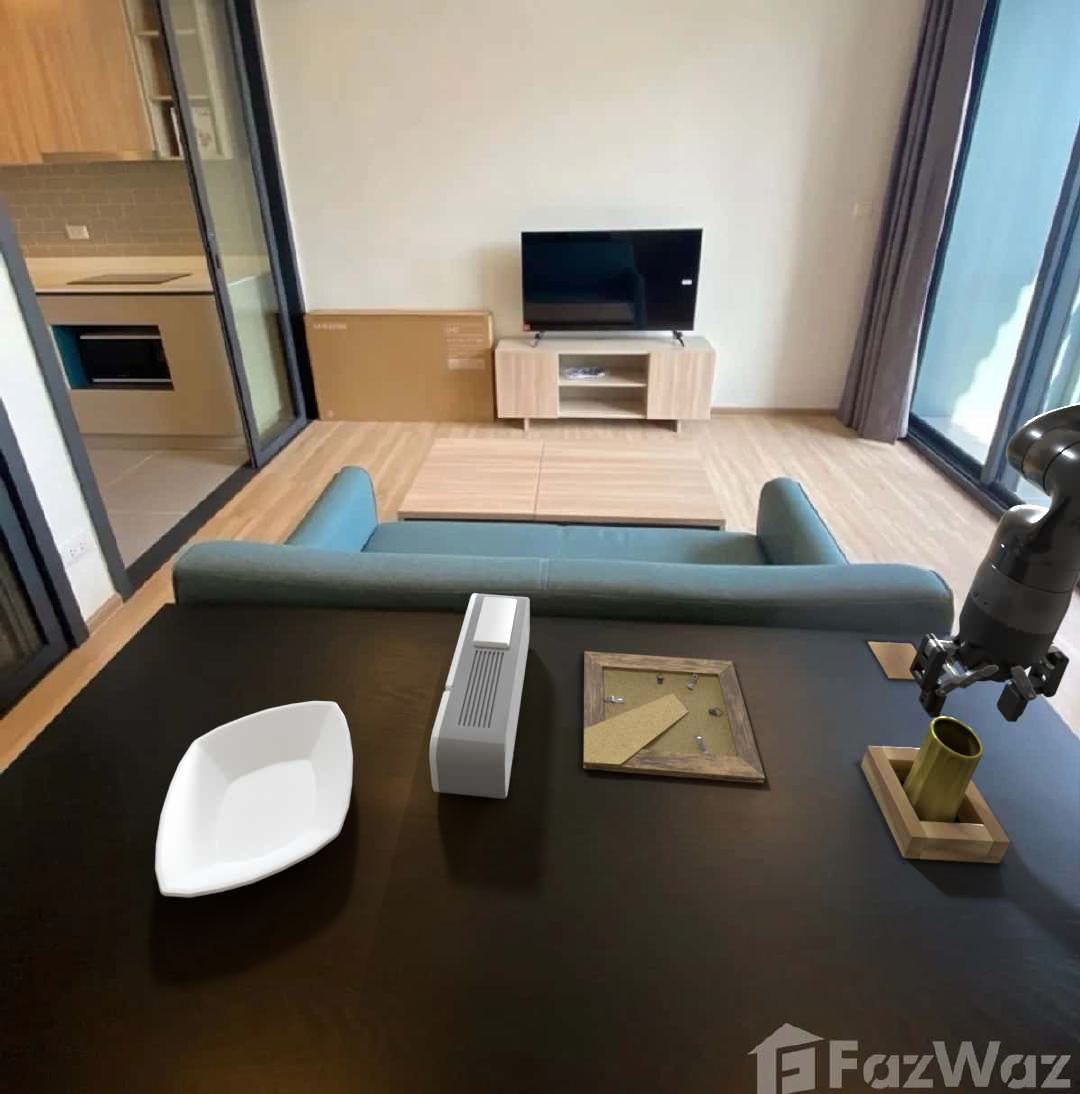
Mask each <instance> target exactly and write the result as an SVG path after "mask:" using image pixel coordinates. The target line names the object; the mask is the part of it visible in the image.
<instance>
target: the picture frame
mask: <svg viewBox="0 0 1080 1094" xmlns="http://www.w3.org/2000/svg"><path fill="white" fill-rule="evenodd" d="M583 653H584V654H583V659H584V662H583V757H582V758H583V763H582V764H583V766H582V767H583V770H589V771H590V770H591V771H604V772H616V773H628V774H639V775H640V774H641V775H653V776H665V777H666V776H667V777H679V778H691V779H702V780H703V779H704V780H717V781H727V782H728V781H729V782H741V783H752V784H764V780H765V778H766V777H765V773H764V769H763V766H762V762H761V759H760V755H759V751H758V749H757V745H756V740H755V738H754V737H755V736H754V733H753V730H752V727H751V722H750V720H749V716H748V712H747V709H746V704H745V702H744V701H745V700H744V698H743V695H742V690H741V687H740V683H739V680H738V676H737V673H736V669H735V666H734V662H733V661H732V660H721V659H720V660H719V659H707V658H705V659H704V658H689V657H676V656H675V657H674V656H662V655H661V656H659V655H645V654H630V653H616V652H601V651H599V652H598V651H587V650H584V652H583Z"/></svg>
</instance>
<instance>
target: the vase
mask: <svg viewBox="0 0 1080 1094" xmlns="http://www.w3.org/2000/svg"><path fill="white" fill-rule="evenodd" d="M919 748H920V750H919V752H918V754H917V756H916V758H915V761H914V763H913V766H912V768H911V771H910V773H909V775H908V776H907V778H906V780H905V781H903V784H902V785H901V786H902V788H903V790H904V792H905V794H906V796H907V798H908V800H909V802H910V804H911V806H912V807H913V809H914V811H915V813H916V815H917V817H918V819H919V821H926V822H944V823H955V821H956V818H957V812H958V809H959V807H960V804H961V802H962V799H963V797H964V794H965V792H966V789H967V787H968V785H969V782H970V780H972V778H973V776H974V774H975V771H976V769H977V767H978V765H979V763H980V761H981V760H982V759H981V758H982V757H983V754H984V745H983V743H982V740H981V738H980V737H979V736H978V734H977V733H976V732H975V730H973V729H972V728H971V727H969V726H968V725H967V724H965V723H964V722H963V721H960V720H959V719H956V718H954V717H950V716H939V717H938V718H934V719H932V720H931V721H930V723H929V724H928V727H927V731H926V733H925V735H924V738H923V740H922V743H921V746H920V747H919Z"/></svg>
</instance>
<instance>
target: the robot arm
mask: <svg viewBox="0 0 1080 1094" xmlns="http://www.w3.org/2000/svg"><path fill="white" fill-rule="evenodd" d="M1005 458H1006V460H1007V463H1008V466H1010V468H1011V469H1012V470H1013V471H1014V472H1015V473H1016V474H1017V475H1018V476H1019V477H1020V478H1022V479H1024V480H1025V481H1026V482H1028V483H1029V484H1031V486H1033V487H1035V488H1036V489H1038V490H1039V491H1040V492H1042V493H1043V494H1045V496H1047V497H1049V498H1050V499H1051V503H1050V506H1049V508H1047V507H1043V506H1038V505H1034V504H1033V505H1032V504H1020V505H1014V506H1012V507H1011V508H1009V509H1007V510H1006V511H1005V512H1004V514H1002V516H1001V518H1000V519H999V522H998V524H997V526H996V529H995V531H994V534H993V537H992V539H991V542H990V544H989V547H988V550H987V551H986V554H985V556H984V557H983V559H982V561H981V562H980V564H979V565H978V567H977V568H976V569H977V570H976V571H975V574H974V577H973V580H972V582H971V584H970V587H969V590H968V592H967V595H966V598H965V599H964V603H963V605H962V608H961V610H960V612H959V615H958V628H959V630H958V633H956V636H954V637H953V638H952V639H951V640H950V641H949V640H939V639H938V638H937V636H936V635H935V634H934V633H926V634H925V635H924V636H923V638H922V640H921V642H920V644H919V647H918V649H917V650H916V651H917V653H916V655H915V658H914V660H913V662H912V664H911V667H910V669H909V671H910V672H911V674H912V675H913V677H914V679H915V680H914V681H916V684H917V685H918V686H919V688H920V690H921V691H920V694H919V697H918V701H919V704H920V705H921V707H922V709H923V710H924V711H925V713H926V714H927V715H928V716H929V717H930V718H932V719H933V718H934V719H935V718H938V717H940V715H941V712H942V710H943V708H944V705H945V702H946V701H947V698H948V696H947V695H948V694H949V693H951V692H953V691H954V690H956V689H958V688H960V689H962V690H964V689H967V688H968V687H970V686H971V685H973V684H975V683H977V682H981V683H982V682H995V683H1005V684H1004V687H1003V688H1002V692H1001V694H1000V696H999V698H998V700H997V702H996V707H997V710H998V711H999V713H1000V714H1001V715H1002V717H1003V718H1004V719H1005V721H1007V722H1009V723H1016V722H1017V721H1018V719H1019V718H1020V717H1022V715H1023V714H1024V712H1025V710H1026V708H1027V706H1028V704H1029V702H1030V701H1034V700H1035V699H1036V698H1037V697H1038V696H1039V695H1043V696H1044V697H1045V698H1052V697H1054V696H1055V695H1056V694H1057V692H1058V689H1059V687H1060V685H1061V682H1062V680H1063V677H1064V675H1065V672H1066V670H1067V668H1068V665H1069V663H1070V658H1069V657H1068V656H1067V655H1066V654H1065V653H1064V652H1063V650H1062V649H1061V648H1060V647H1059V646H1058V645H1056V644H1055V643H1054V640H1055V637H1056V636H1057V634H1058V631H1059V630H1060V628H1061V625H1062V623H1063V621H1064V619H1065V617H1066V615H1067V613H1068V610H1069V608H1070V606H1071V602H1072V598H1073V593H1074V590H1075V588H1076V585H1077V583H1078V581H1079V580H1080V402H1079V403H1076V404H1075V403H1074V404H1072V405H1068V406H1064V407H1060V408H1056V409H1053V410H1050V411H1047V412H1045V413H1042V414H1040V415H1038V416H1037V415H1036V416H1035V417H1034V418H1032V419H1030V420H1028V421H1027V422H1025V423H1024V424H1022V425H1021V426H1020V427H1018V429H1017V430H1016V431H1015V432H1014V433H1013V434H1012V436H1010V438H1009V440H1008V442H1007V444H1006V448H1005ZM956 662H957V663H958V664H959V666H960V668H961V669H962V670H963V672H964V673H962V674H961V675H960V674H959V672H958V671H957V669H956V668H955V663H956ZM1028 669H1029V671H1028V673H1027V674H1026V670H1028ZM945 674H947V676H948V678H947V679H945V680H943V681H942V680H941V679H940V678H941V677H943V676H944V675H945ZM1006 681H1010V682H1006Z"/></svg>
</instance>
